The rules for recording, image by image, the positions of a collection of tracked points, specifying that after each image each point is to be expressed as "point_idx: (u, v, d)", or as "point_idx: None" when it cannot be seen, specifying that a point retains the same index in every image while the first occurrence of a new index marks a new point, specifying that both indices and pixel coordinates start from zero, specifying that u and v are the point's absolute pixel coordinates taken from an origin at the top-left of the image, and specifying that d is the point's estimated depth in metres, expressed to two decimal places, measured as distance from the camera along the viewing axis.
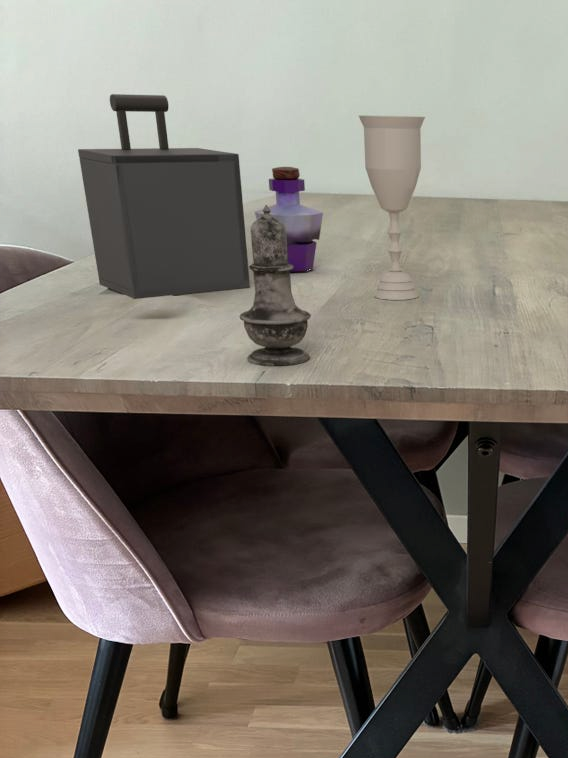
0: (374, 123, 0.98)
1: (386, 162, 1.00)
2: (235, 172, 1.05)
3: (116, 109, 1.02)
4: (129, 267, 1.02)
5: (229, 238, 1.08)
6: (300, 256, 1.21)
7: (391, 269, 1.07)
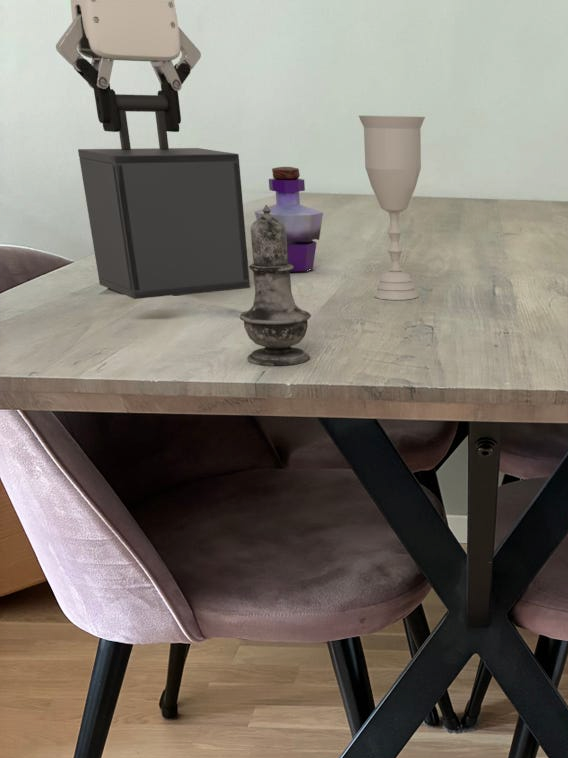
0: (374, 123, 0.98)
1: (386, 162, 1.00)
2: (235, 172, 1.05)
3: None
4: (129, 267, 1.02)
5: (229, 238, 1.08)
6: (300, 256, 1.21)
7: (391, 269, 1.07)
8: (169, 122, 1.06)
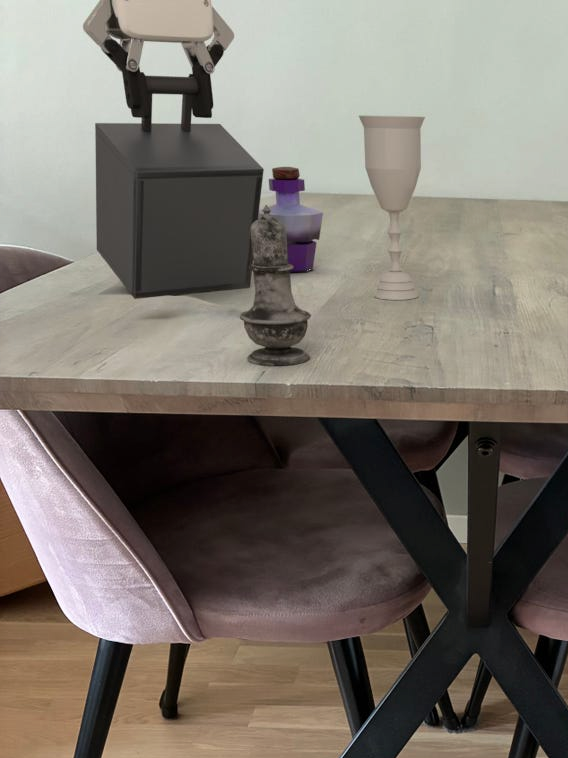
0: (374, 123, 0.98)
1: (386, 162, 1.00)
2: (257, 185, 1.03)
3: None
4: (134, 271, 1.02)
5: (238, 245, 1.07)
6: (300, 256, 1.21)
7: (391, 269, 1.07)
8: (201, 107, 1.00)
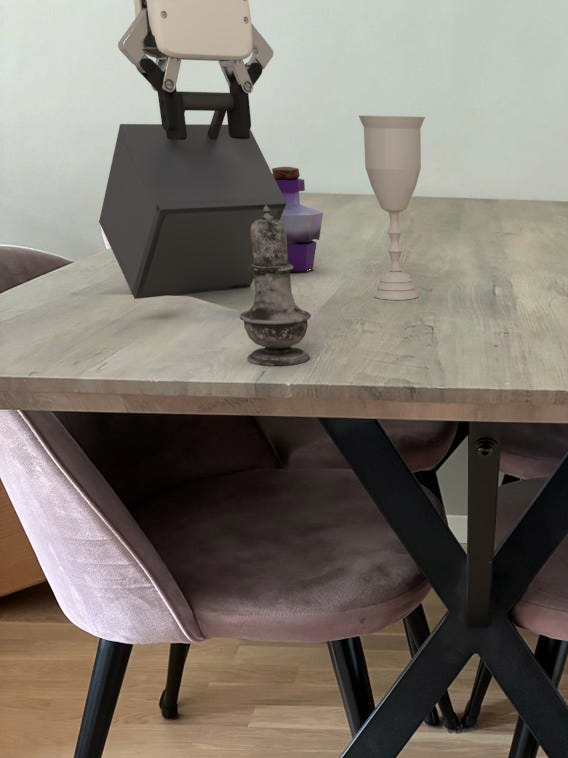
0: (374, 123, 0.98)
1: (386, 162, 1.00)
2: (276, 215, 1.02)
3: None
4: (139, 279, 1.01)
5: (247, 258, 1.06)
6: (300, 256, 1.21)
7: (391, 269, 1.07)
8: (238, 128, 0.96)
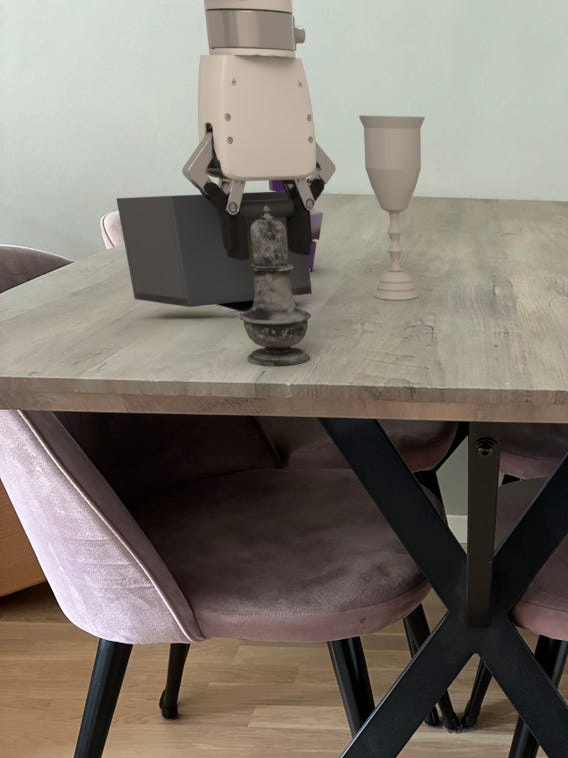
0: (374, 123, 0.98)
1: (386, 162, 1.00)
2: None
3: None
4: (146, 299, 1.02)
5: None
6: None
7: (391, 269, 1.07)
8: (299, 244, 0.94)
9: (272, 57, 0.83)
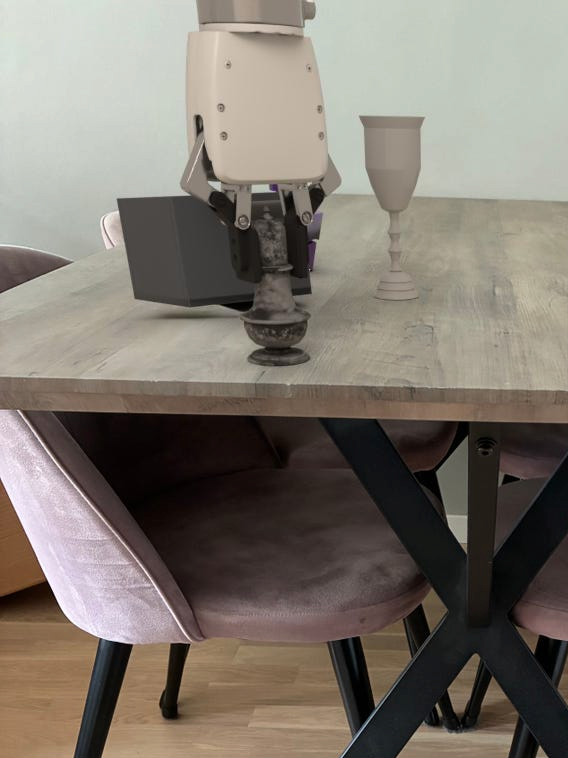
0: (374, 123, 0.98)
1: (386, 162, 1.00)
2: None
3: None
4: (146, 299, 1.02)
5: None
6: None
7: (391, 269, 1.07)
8: (294, 266, 0.78)
9: (275, 35, 0.69)
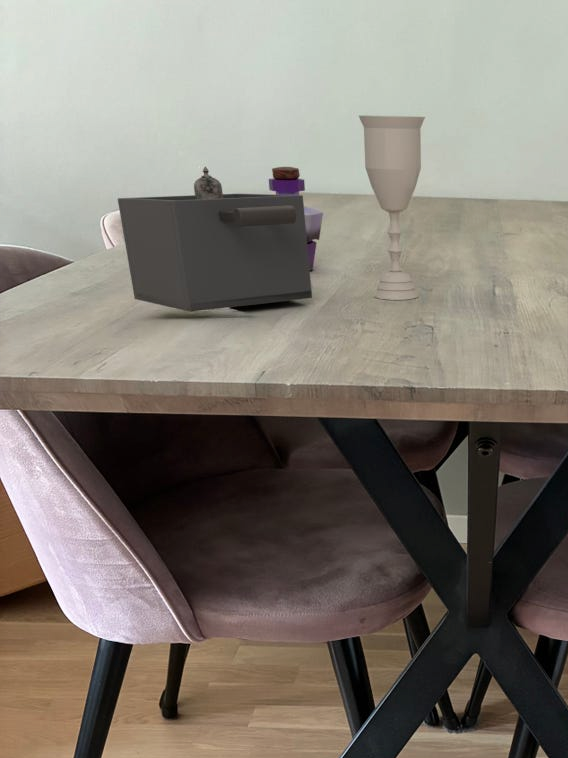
0: (374, 123, 0.98)
1: (386, 162, 1.00)
2: None
3: None
4: (146, 300, 1.02)
5: None
6: None
7: (391, 269, 1.07)
8: None
9: None
